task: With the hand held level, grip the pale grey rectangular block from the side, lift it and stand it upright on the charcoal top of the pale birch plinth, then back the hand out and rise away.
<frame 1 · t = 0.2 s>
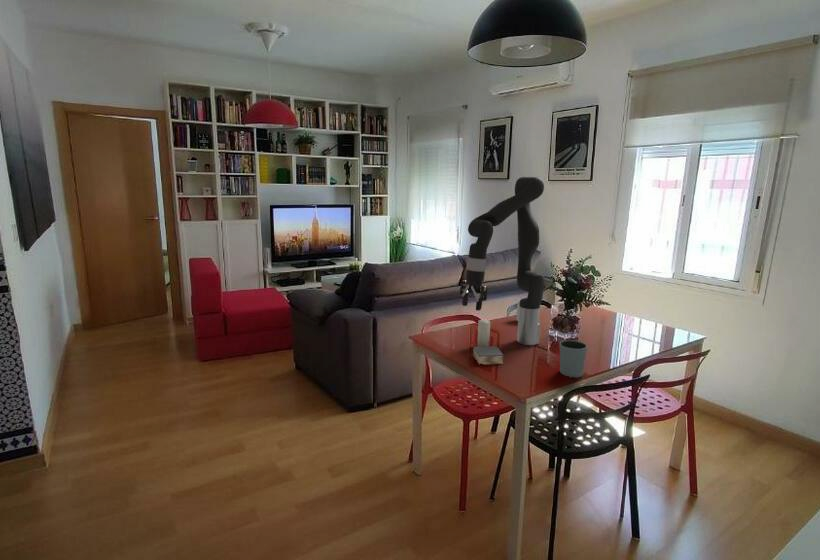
hand: (471, 307, 188), 22 cm above the table, tool pointing down, fingers open, 8 cm apart
plant pot: (570, 373, 178), on the table
pale grey rectangular block: (483, 346, 206), on the table
plinth: (487, 359, 191), on the table
photo printer: (525, 322, 242), on the table
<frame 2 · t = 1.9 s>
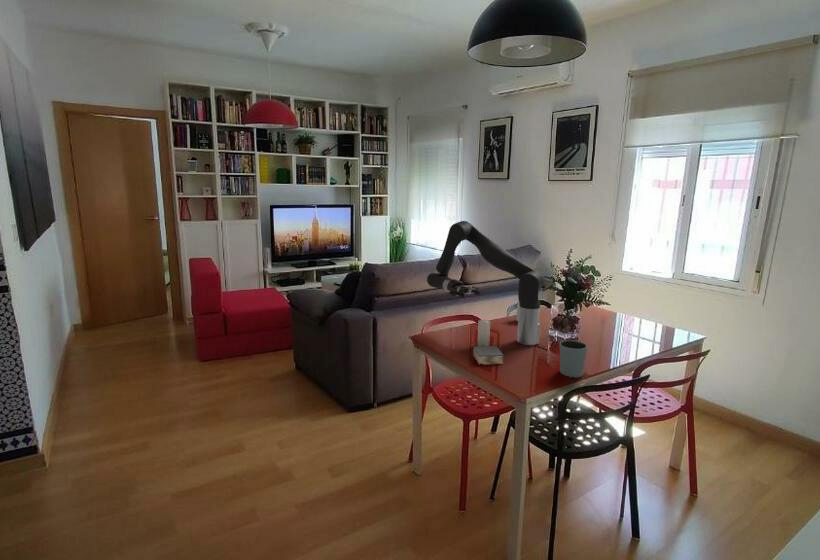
hand: (471, 294, 211), 22 cm above the table, tool horizontal, fingers open, 8 cm apart
nothing on the table moved.
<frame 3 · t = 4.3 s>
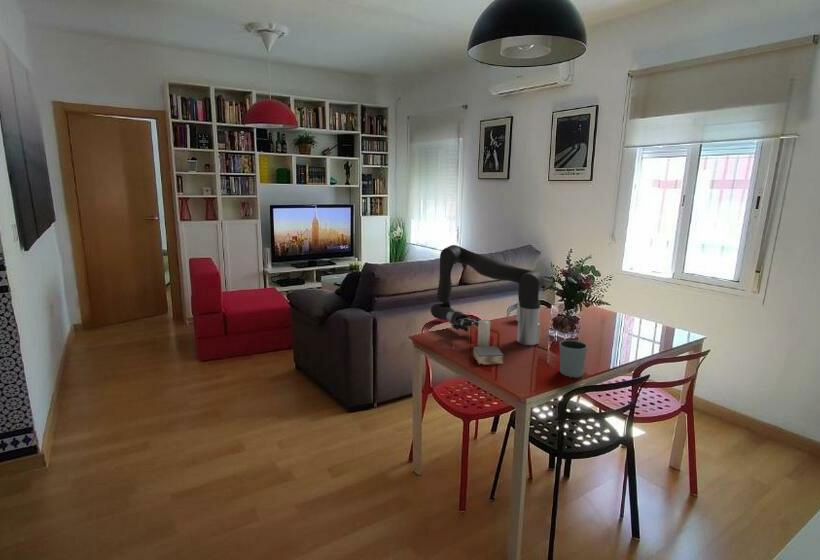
hand: (475, 328, 210), 7 cm above the table, tool horizontal, fingers open, 8 cm apart
nothing on the table moved.
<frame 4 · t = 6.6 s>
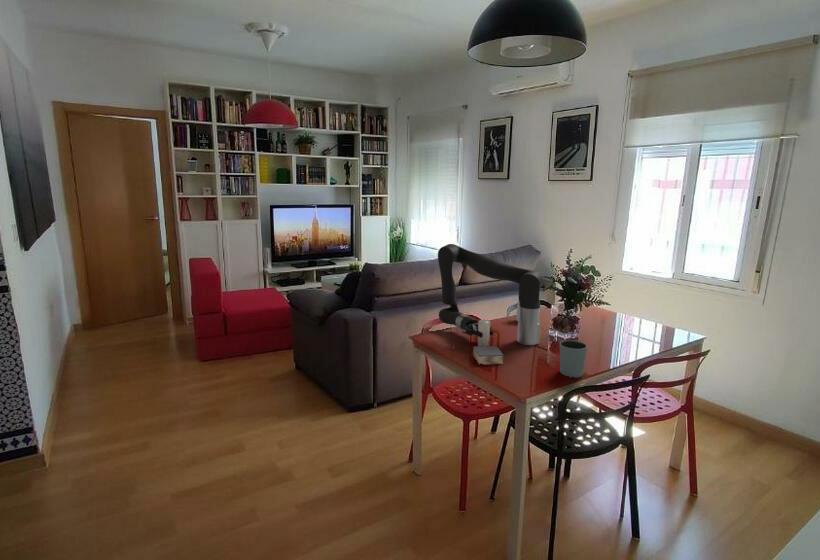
hand: (487, 334, 202), 7 cm above the table, tool horizontal, fingers closed on pale grey rectangular block, 5 cm apart
pale grey rectangular block: (483, 346, 206), on the table, touching gripper
everything else where it was.
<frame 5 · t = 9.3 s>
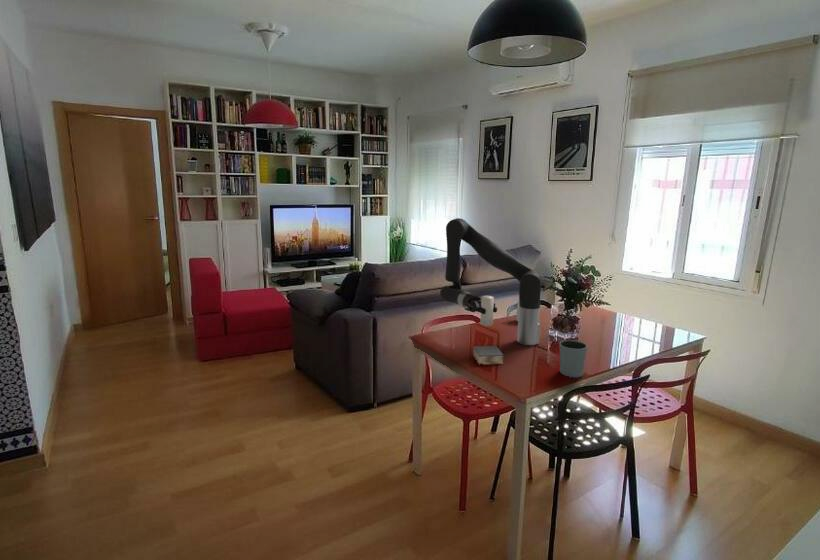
hand: (490, 311, 191), 20 cm above the table, tool horizontal, fingers closed on pale grey rectangular block, 5 cm apart
pale grey rectangular block: (486, 324, 195), point 13 cm above the table, touching gripper
everything else where it was.
when the fingers open (12 cm above the table, at t = 12.2 s): pale grey rectangular block drops 1 cm, resting on plinth.
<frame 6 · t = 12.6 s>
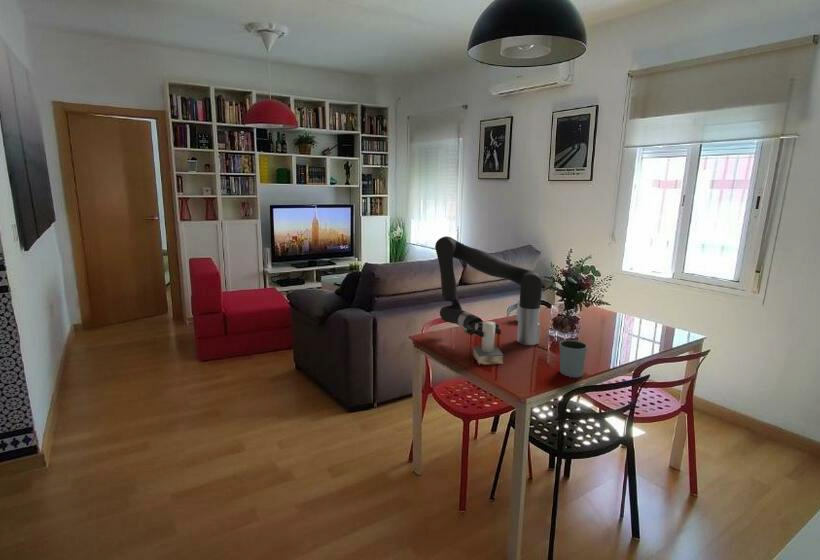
hand: (491, 333, 187), 12 cm above the table, tool horizontal, fingers open, 8 cm apart
pale grey rectangular block: (487, 350, 190), point 4 cm above the table, touching plinth
everything else where it was.
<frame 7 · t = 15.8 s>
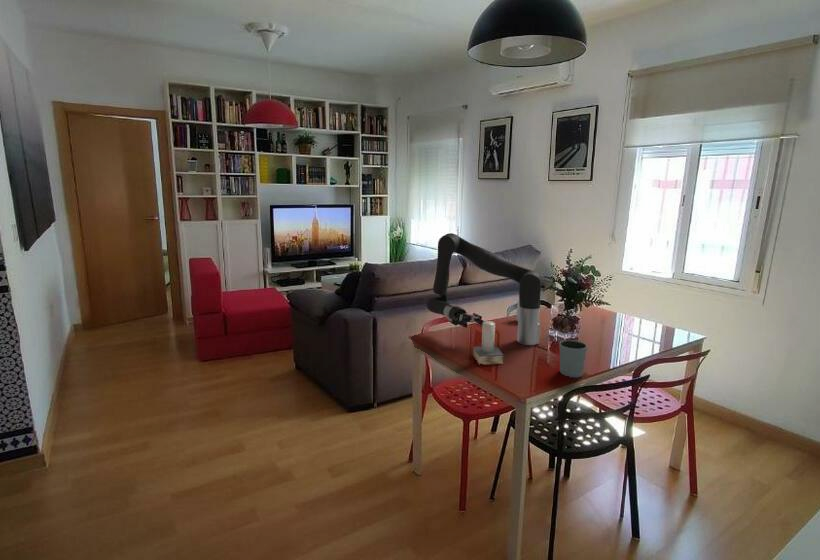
hand: (474, 324, 198), 12 cm above the table, tool horizontal, fingers open, 8 cm apart
nothing on the table moved.
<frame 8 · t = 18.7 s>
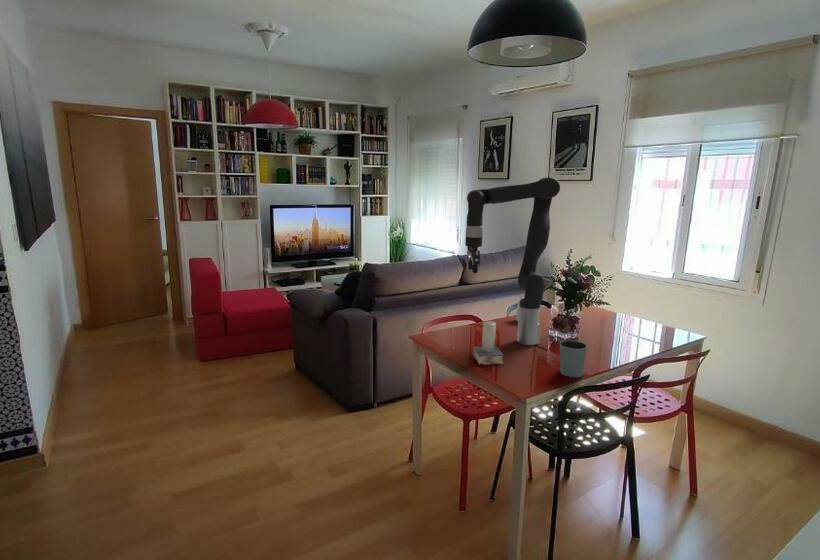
hand: (472, 271, 207), 33 cm above the table, tool pointing down, fingers open, 8 cm apart
nothing on the table moved.
at the end: pale grey rectangular block inside the target area on the plinth (0.2 cm from its centre), point 4.1 cm above the plinth's base; pale grey rectangular block tilted 2°; the gripper is holding nothing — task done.
